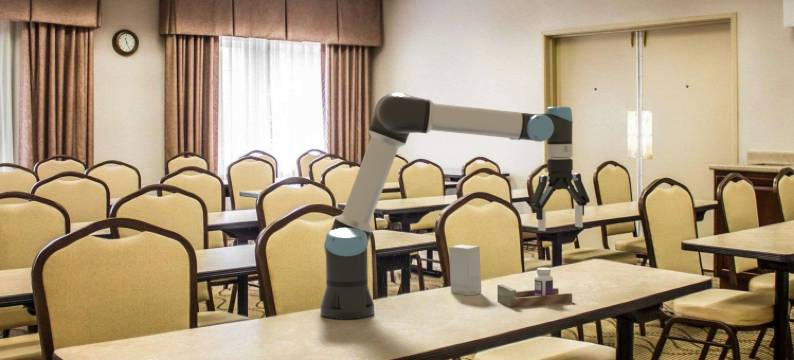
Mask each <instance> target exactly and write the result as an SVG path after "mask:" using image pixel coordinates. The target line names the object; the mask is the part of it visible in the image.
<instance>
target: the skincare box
mask: <svg viewBox="0 0 794 360" xmlns="http://www.w3.org/2000/svg"><path fill="white" fill-rule="evenodd" d="M480 251H481V250H480V245H469V244H468V245H467V244H457V245H453V246H448V252H449V253H448V255H449V274H450V275H449V277H450V280H449V282H450V293H451V294H458V295H462V296H463V295H464V296H474V295H479V294H482V272H481V254H480V253H481V252H480Z"/></svg>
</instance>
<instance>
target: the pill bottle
mask: <svg viewBox="0 0 794 360" xmlns="http://www.w3.org/2000/svg"><path fill="white" fill-rule="evenodd" d="M551 274H552V273H551V268H550V267H537V269H536V275H535V276H534V290H535V296H542V295H553V288H554V277H553V276H552V275H551Z"/></svg>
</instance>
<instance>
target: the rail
mask: <svg viewBox="0 0 794 360" xmlns="http://www.w3.org/2000/svg"><path fill="white" fill-rule="evenodd" d="M559 291H560V290H559V288H557V287H555V288H554V287H553V295H542V296H535V289H531V290H519V291H518V290H516V289H514V288H511V287H510V286H507V285H504V284H497V302H498V303H500V304H502V305H505V306H507V307H509V308H520V307H521V308H522V307H534V306H544V305H554V304H566V303H573V293H572V292H568V293H567V292H566V293H560V292H559Z"/></svg>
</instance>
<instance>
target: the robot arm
mask: <svg viewBox="0 0 794 360" xmlns="http://www.w3.org/2000/svg"><path fill="white" fill-rule="evenodd" d="M572 112H573V111H572V108H571V107H570V106H548V107H546V112H544V113H528V112H527V113H526V112H520V111H519V112H518V111H509V110H502V109H491V108H483V107H481V108H480V107H471V106H463V105H462V106H461V105H454V104H453V105H452V104H442V103H436V102H435V103H434V102H433V101H432V100H431V99H429V98H423V97H417V96H412V95H409V94H406V93H403V92H392V93H388V94H385V95H384V96H382V97H381V98H380V99H379V100H378V102H377V103H376V106H375V107H374V112H373V113H374V115H373V117H372V119H371V122H370V125H369V128H368V131H367V132H368V133H369V135H370V140H369V142H368V145H367V147H366V151H365V153H364V156H363V159H362V161H361V163H360V166H359V169H358V171H357V175H356V176H355V179H354V182H353V185H352V187H351V190H350V193H349V196H348V198H347V199H346V203H345V206H344V209H343V210H342V213H341V214H340V215H338V216H335V217H334V221H333V223H332V226H331V229H330V231H328V232H327V233H326V235H325V240H324V253H325V273H326V274H325V276H326V277H325V278H326V286H325V291H324V292H323V293H324V294H323V297H322V301H321V304H320V315H321V314H322V315H323V316H322V315H321V316H322V317H324V316H326V317H325V318H328V317H330V318H329V319H334V318H337V319H336V320H355V319H354V318H357V319H362V317H364V318H368V317H370V315H371V316H373V315H374V314H375V303H374V301H373V297H372V295H371V292H370V289H369V284H368V283H369V281H368V280H369V279H368V277H369V276H368V274H369V273H368V271H369V270H368V267H369V265H368V264H369V263H368V245H369V240H370V239H371V236H372V233H373V229H372V227H371V223H372V218H373V216H374V213H375V210H376V208H377V206H378V203H379V201H380V197H381V195H382V192H383V190H384V187H385V184H386V181H387V179H388V177H389V174H390V171H391V169H392V166H393V164H394V161H395V158H396V155H397V153H398V149H400V148H401V147H403V146H405V145H406V143H407V140H408V139H409V136H410V134H413V133H414V134H415V133H416V134H417V133H418V134H428V133H429V132H430V131H431V132H432V131H436V132H444V133H455V134H463V135H464V134H465V135H473V136H474V135H475V136H483V137H485V136H487V137H494V138H495V137H497V138H503V139H505V138H506V139H510V140H512V141H513V140H517V141H520V140H525V141H533V142H540V143H541V142H544V141H546V157H547V158H548V159H547V160H546V161H547V162H546V167H547V172H548V174H547V175H543V174H540V175H539V176H538V183H537V185H536V188H535V191H534V192H533V193H534V194H533V196H532V199H531V202H530V204H529V205H530V207H532V208H534V209H535V210H536V211H535V213H536V214H535V215H536V217H535V219H536V220H537V221H538V223H537V225H538V228H537V230H538V231H541V232H546V231H547V230H546V229H547V224H546V223H547V222H546V221H547V219H546V208H544V207H545V206H546V205H547V203H548V201H549V199H550V198H551V196H552V195H553V194H554V192H556V190H557V191H558V190H560V191H561V190H566V191H567V192H568V193H569V195H570V196H571V197H572V199H573V200H574V201H575V202H576V204H575V205H574V227H577V228H583V226H584V224H583V217H584V215H585V206H587V204H588V203H590V202H591V201H590V197H589V195H588V193H587V191H586V190H587V189H586V188H585V186H584V183H583V181H582V174H581V173H579V172H572V171H573V169H574V166H573V165H574V164H573V161H574V160H573V158H572V157H573V151H574V150H573V123H574V122H573V121H574V120H573V113H572ZM572 181H573V183H572ZM367 316H368V317H367Z"/></svg>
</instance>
